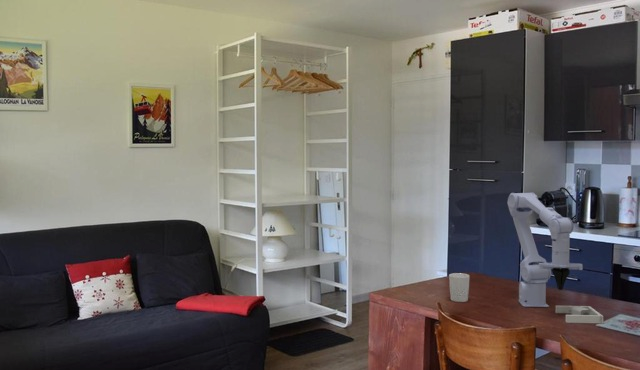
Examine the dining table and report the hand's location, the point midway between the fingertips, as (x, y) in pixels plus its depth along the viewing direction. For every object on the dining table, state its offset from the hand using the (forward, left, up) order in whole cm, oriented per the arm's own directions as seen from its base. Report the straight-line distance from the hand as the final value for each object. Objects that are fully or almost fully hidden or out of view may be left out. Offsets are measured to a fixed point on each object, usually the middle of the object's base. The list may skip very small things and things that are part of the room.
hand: (560, 289), depth 206 cm
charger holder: (+5, -3, -9) cm, 11 cm away
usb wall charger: (+5, -4, -10) cm, 12 cm away
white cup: (-33, +19, -10) cm, 39 cm away
